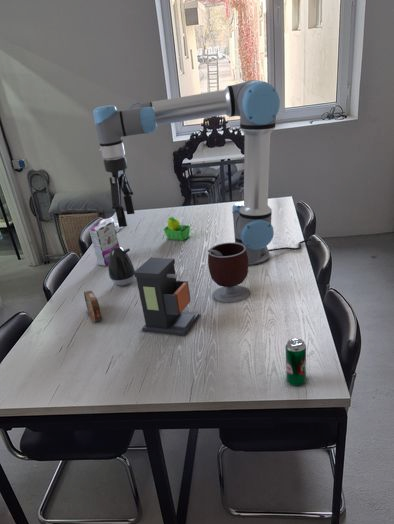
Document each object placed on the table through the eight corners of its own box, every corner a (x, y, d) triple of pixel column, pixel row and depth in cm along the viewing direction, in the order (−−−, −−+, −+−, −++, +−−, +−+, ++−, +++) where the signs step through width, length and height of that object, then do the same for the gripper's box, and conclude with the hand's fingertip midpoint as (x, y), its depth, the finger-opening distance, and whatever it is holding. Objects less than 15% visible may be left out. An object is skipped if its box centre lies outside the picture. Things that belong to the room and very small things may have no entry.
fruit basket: (192, 236, 230) (189, 212, 224) (182, 242, 224) (178, 219, 218) (173, 234, 235) (169, 211, 229) (162, 240, 229) (158, 217, 223)
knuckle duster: (101, 223, 263) (128, 220, 262) (95, 234, 248) (124, 231, 247) (100, 217, 262) (126, 214, 261) (94, 228, 246) (122, 225, 245)
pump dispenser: (132, 288, 189) (124, 251, 180) (107, 288, 191) (99, 252, 183) (140, 277, 197) (133, 241, 189) (116, 277, 199) (108, 242, 191)
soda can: (284, 376, 130) (283, 339, 123) (303, 374, 130) (303, 336, 123) (289, 388, 126) (288, 349, 119) (308, 385, 126) (308, 346, 119)
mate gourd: (229, 282, 182) (225, 231, 172) (258, 291, 173) (255, 238, 163) (200, 299, 174) (193, 246, 163) (229, 309, 165) (224, 254, 154)
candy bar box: (113, 255, 221) (105, 220, 212) (122, 256, 218) (114, 221, 210) (97, 265, 213) (88, 229, 204) (105, 266, 211) (97, 230, 202)
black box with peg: (199, 315, 164) (191, 258, 152) (183, 335, 154) (174, 276, 143) (159, 312, 169) (149, 256, 158) (142, 331, 160) (130, 273, 148)
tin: (86, 308, 178) (81, 288, 174) (95, 306, 179) (89, 285, 175) (95, 326, 166) (90, 304, 162) (104, 323, 167) (99, 301, 163)
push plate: (190, 302, 159) (187, 282, 155) (180, 313, 153) (177, 294, 149) (186, 301, 159) (183, 282, 155) (176, 313, 153) (173, 293, 149)
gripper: (111, 151, 172) (124, 210, 184) (93, 167, 151) (108, 233, 163) (132, 148, 171) (143, 208, 183) (116, 165, 150) (130, 231, 162)
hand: (127, 220), depth 173 cm, fingers open, 13 cm apart
